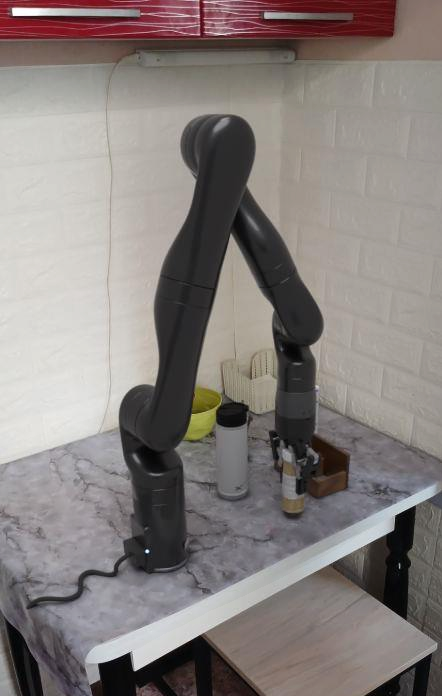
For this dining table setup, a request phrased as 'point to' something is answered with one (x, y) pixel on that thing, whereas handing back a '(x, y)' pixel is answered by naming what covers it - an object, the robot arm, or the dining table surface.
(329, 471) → the spice rack
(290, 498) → the brown spice jar
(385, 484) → the dining table surface
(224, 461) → the travel mug
